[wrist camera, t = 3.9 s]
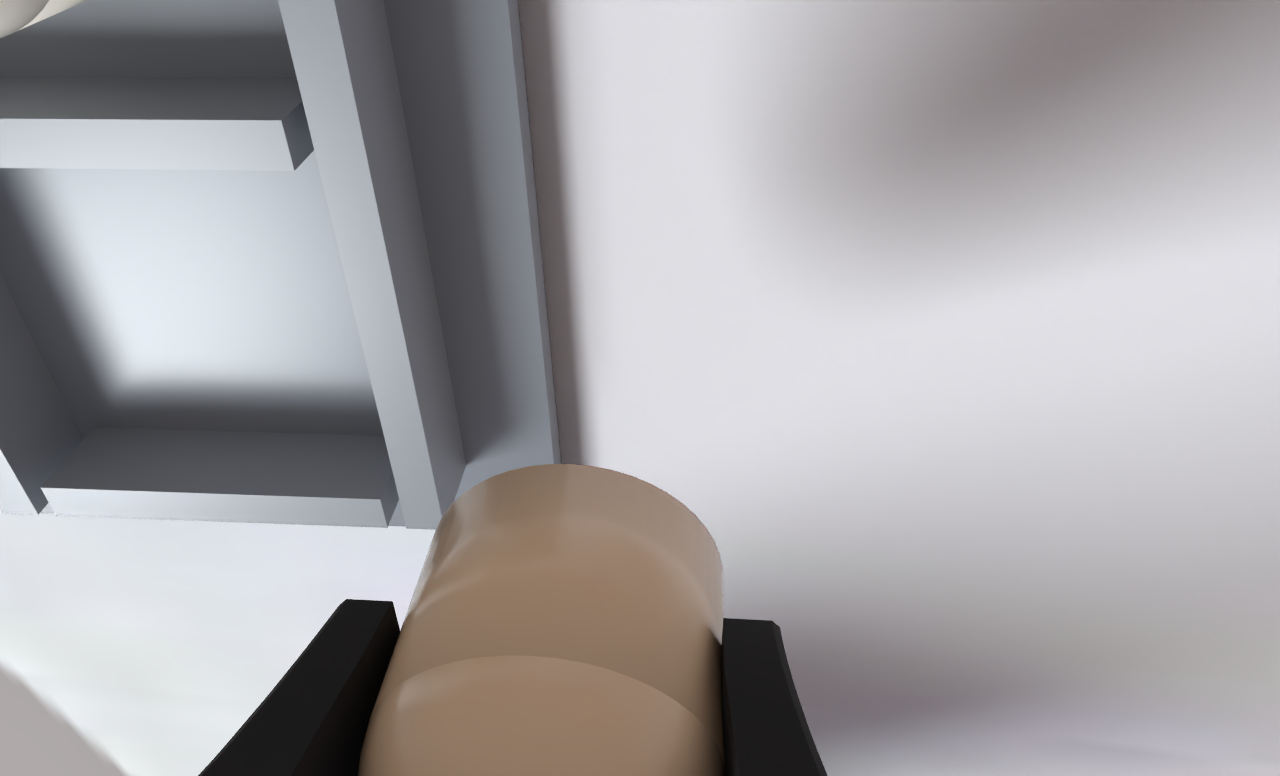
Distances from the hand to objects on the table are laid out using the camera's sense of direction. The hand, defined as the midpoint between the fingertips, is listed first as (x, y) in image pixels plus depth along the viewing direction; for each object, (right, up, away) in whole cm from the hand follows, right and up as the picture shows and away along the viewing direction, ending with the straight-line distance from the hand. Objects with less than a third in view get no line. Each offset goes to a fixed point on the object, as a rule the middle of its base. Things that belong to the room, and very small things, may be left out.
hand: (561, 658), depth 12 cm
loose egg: (0, +1, +1) cm, 2 cm away
